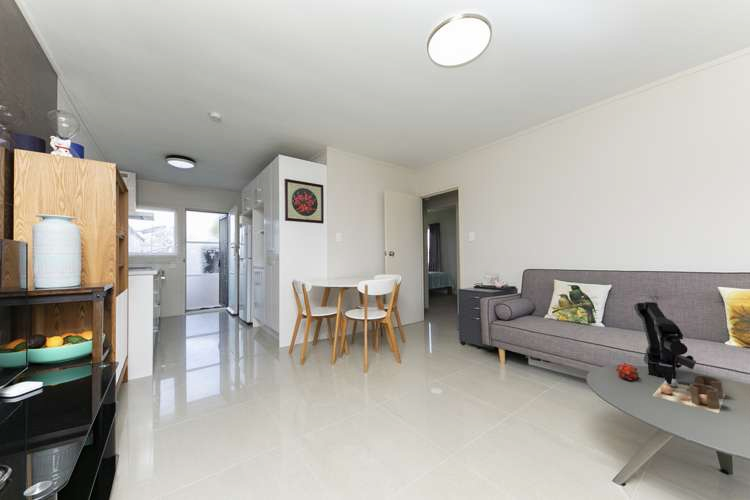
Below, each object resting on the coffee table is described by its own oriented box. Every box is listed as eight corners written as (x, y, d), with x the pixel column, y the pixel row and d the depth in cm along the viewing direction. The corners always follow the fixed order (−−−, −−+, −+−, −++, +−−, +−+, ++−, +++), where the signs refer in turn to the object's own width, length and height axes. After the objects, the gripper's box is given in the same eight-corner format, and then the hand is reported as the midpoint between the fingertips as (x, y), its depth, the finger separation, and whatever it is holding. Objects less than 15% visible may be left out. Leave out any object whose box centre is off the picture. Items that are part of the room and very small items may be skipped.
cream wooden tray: (652, 396, 125) (650, 379, 126) (665, 381, 140) (663, 366, 141) (718, 414, 110) (716, 394, 110) (725, 395, 125) (723, 378, 125)
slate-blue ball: (665, 386, 134) (664, 378, 134) (667, 384, 136) (666, 376, 136) (677, 389, 131) (676, 380, 131) (679, 387, 133) (678, 378, 133)
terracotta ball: (659, 393, 127) (658, 384, 127) (661, 391, 129) (660, 382, 130) (672, 396, 124) (671, 387, 124) (674, 394, 126) (673, 385, 126)
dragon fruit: (630, 378, 149) (630, 389, 140) (613, 366, 153) (611, 376, 145) (642, 368, 145) (642, 379, 136) (623, 356, 150) (623, 366, 141)
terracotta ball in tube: (697, 404, 117) (696, 394, 117) (698, 401, 119) (697, 391, 120) (712, 407, 114) (711, 397, 114) (713, 404, 116) (712, 394, 116)
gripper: (689, 356, 123) (693, 392, 122) (696, 348, 133) (700, 381, 132) (654, 351, 132) (658, 384, 131) (663, 343, 142) (666, 374, 142)
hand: (671, 381), depth 134 cm, fingers open, 9 cm apart
